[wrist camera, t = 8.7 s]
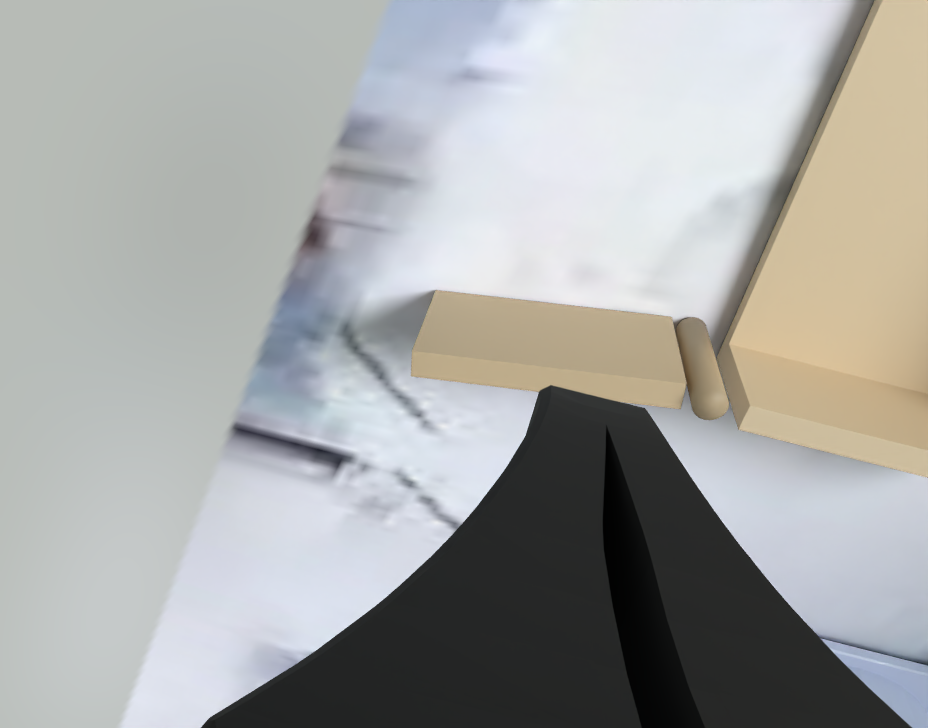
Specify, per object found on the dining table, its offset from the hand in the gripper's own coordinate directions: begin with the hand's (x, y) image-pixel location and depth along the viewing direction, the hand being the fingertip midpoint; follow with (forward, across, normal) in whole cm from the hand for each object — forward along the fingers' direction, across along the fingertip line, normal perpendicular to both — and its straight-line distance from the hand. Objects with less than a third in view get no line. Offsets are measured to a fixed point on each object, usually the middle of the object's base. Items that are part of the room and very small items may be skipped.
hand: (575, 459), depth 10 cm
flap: (+8, 0, +2) cm, 9 cm away
